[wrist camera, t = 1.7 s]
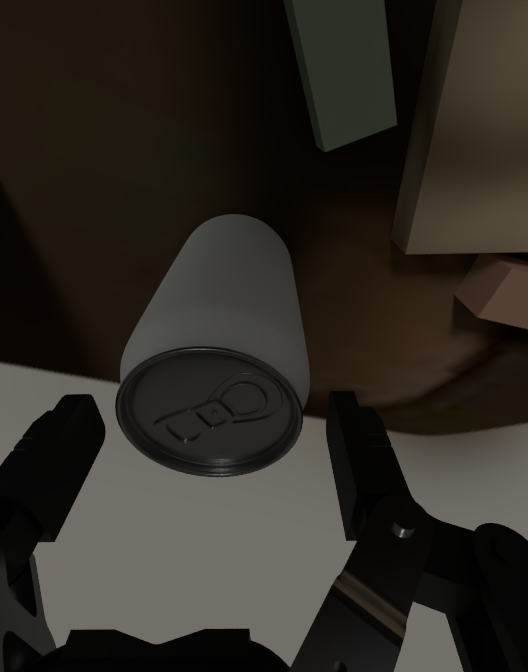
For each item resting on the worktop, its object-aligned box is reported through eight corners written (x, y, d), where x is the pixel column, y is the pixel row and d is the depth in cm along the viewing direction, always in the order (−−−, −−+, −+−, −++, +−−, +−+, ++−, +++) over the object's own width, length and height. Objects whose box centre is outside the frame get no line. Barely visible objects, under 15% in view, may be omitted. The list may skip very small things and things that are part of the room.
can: (310, 282, 21) (353, 444, 11) (225, 329, 23) (194, 503, 13) (252, 186, 17) (236, 290, 8) (159, 250, 19) (50, 399, 10)
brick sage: (279, -16, 13) (282, -44, 11) (353, -53, 13) (374, -91, 10) (316, 145, 17) (324, 152, 14) (376, 122, 16) (397, 124, 14)
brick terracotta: (452, 293, 21) (477, 317, 19) (480, 248, 20) (512, 268, 17) (534, 312, 22) (568, 338, 20) (567, 271, 20) (609, 293, 18)
